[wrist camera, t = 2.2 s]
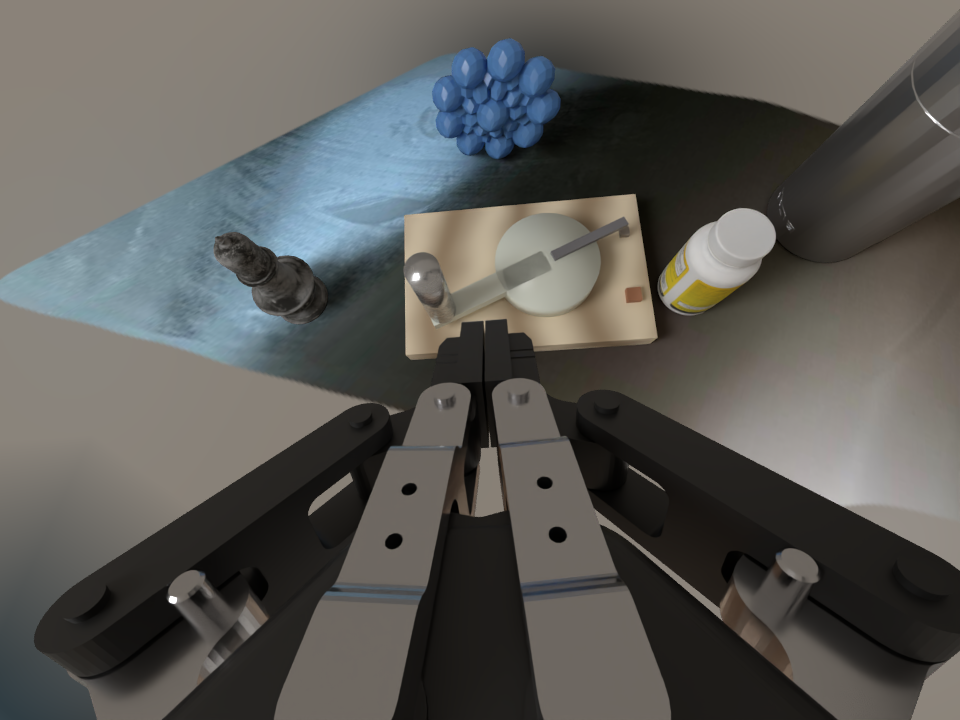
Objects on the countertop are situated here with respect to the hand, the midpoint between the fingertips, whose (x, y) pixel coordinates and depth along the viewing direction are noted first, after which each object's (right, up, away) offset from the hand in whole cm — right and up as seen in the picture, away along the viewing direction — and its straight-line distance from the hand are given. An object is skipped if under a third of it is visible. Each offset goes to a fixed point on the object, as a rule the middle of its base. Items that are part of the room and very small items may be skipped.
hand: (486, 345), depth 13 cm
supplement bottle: (+19, +6, +24) cm, 31 cm away
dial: (+4, +7, +23) cm, 24 cm away
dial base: (+4, +7, +25) cm, 26 cm away
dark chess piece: (-18, +6, +27) cm, 33 cm away
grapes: (+2, +22, +29) cm, 36 cm away
